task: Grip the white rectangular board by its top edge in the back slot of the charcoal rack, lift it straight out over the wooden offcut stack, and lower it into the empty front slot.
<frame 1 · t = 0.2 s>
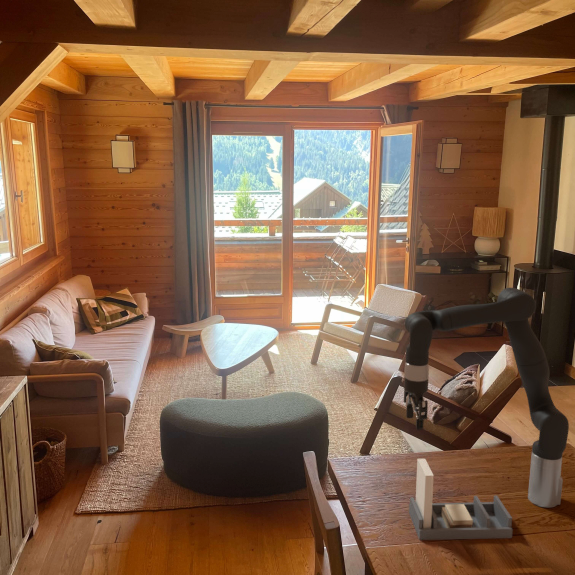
hand: (414, 423, 186), 29 cm above the table, tool pointing down, fingers open, 8 cm apart
white rectangular board: (422, 525, 180), point 1 cm above the table, touching rack
offcuts: (456, 524, 180), point 1 cm above the table, touching rack
rack: (458, 527, 180), on the table
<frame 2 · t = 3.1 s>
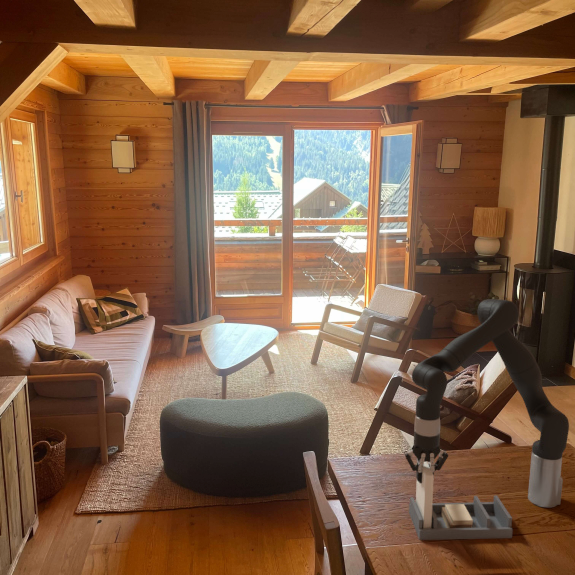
hand: (424, 481, 176), 16 cm above the table, tool pointing down, fingers closed on white rectangular board, 2 cm apart
white rectangular board: (422, 525, 180), point 1 cm above the table, touching gripper
everything else where it was.
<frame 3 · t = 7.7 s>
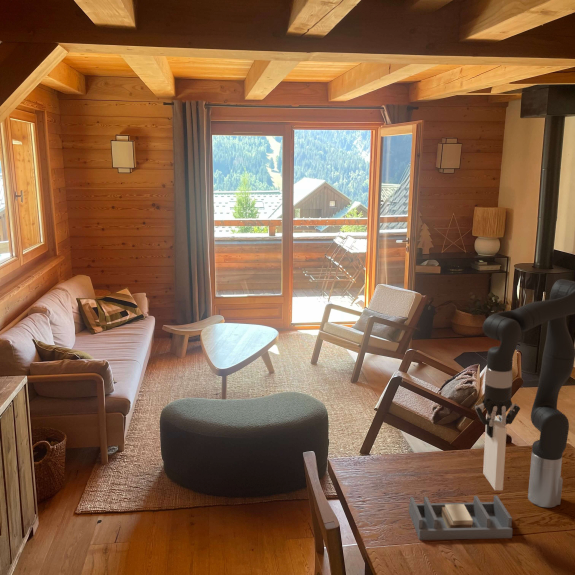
hand: (495, 436, 174), 31 cm above the table, tool pointing down, fingers closed on white rectangular board, 2 cm apart
white rectangular board: (492, 481, 177), point 16 cm above the table, touching gripper
everything else where it was.
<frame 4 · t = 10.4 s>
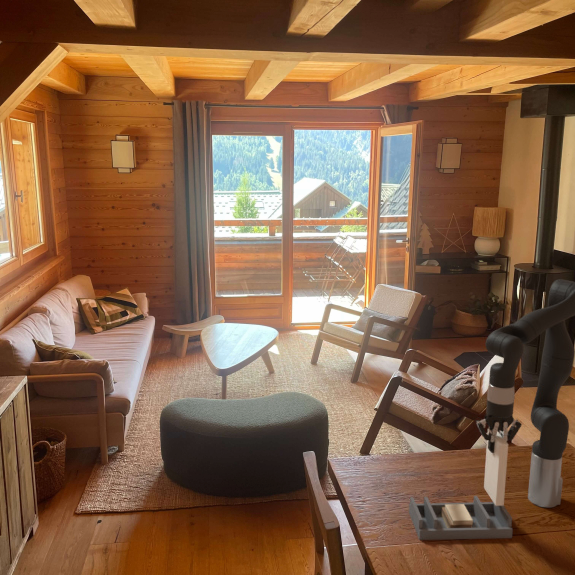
hand: (496, 451, 175), 26 cm above the table, tool pointing down, fingers closed on white rectangular board, 2 cm apart
white rectangular board: (493, 496, 178), point 11 cm above the table, touching gripper
everything else where it was.
when the fingers open (18 cm above the table, at t = 12.4 s): white rectangular board drops 2 cm, resting on rack.
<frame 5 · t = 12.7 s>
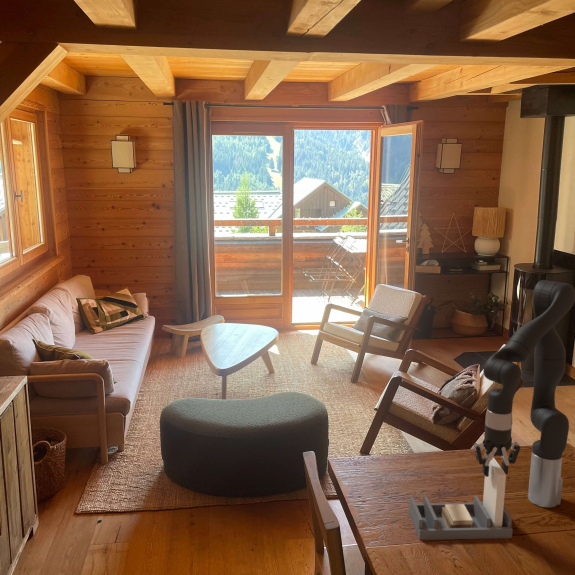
hand: (494, 474, 176), 18 cm above the table, tool pointing down, fingers open, 4 cm apart
white rectangular board: (491, 524, 180), point 1 cm above the table, touching rack
everything else where it was.
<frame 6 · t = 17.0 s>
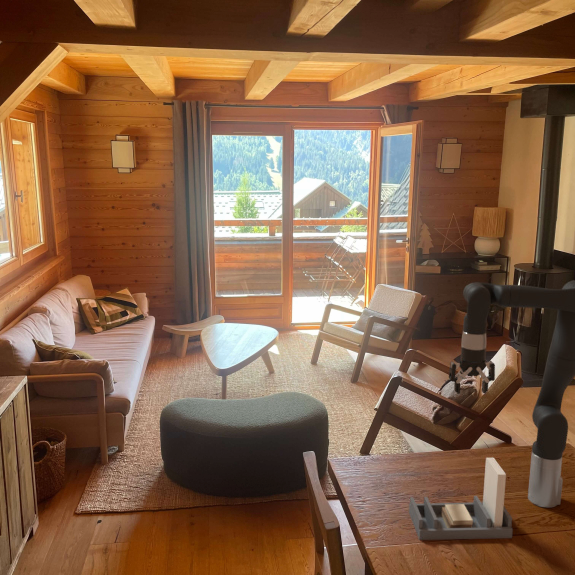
hand: (470, 392, 188), 38 cm above the table, tool pointing down, fingers open, 8 cm apart
nothing on the table moved.
at the end: white rectangular board 0.2 cm from the target spot on the rack, point 1.0 cm above the rack's base; white rectangular board tilted 0°; offcuts moved 0.0 cm from its start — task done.
